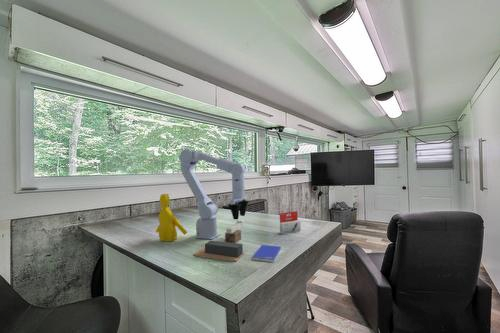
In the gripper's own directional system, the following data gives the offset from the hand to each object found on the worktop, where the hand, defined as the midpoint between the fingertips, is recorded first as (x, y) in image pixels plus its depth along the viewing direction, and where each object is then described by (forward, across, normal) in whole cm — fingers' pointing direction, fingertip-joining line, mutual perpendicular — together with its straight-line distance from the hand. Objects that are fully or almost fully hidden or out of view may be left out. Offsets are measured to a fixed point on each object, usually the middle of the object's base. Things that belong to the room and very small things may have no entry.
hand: (239, 217), depth 101 cm
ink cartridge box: (+10, +15, -21) cm, 28 cm away
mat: (+9, -22, -1) cm, 23 cm away
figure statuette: (+10, -13, +31) cm, 35 cm away
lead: (+9, -21, -3) cm, 23 cm away
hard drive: (+10, -15, -18) cm, 26 cm away
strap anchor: (+9, -5, +1) cm, 11 cm away
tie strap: (+5, -2, +1) cm, 6 cm away
